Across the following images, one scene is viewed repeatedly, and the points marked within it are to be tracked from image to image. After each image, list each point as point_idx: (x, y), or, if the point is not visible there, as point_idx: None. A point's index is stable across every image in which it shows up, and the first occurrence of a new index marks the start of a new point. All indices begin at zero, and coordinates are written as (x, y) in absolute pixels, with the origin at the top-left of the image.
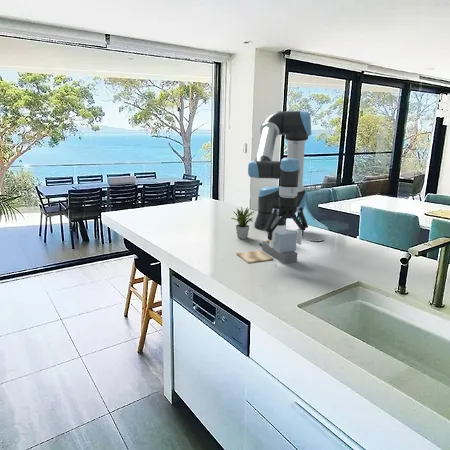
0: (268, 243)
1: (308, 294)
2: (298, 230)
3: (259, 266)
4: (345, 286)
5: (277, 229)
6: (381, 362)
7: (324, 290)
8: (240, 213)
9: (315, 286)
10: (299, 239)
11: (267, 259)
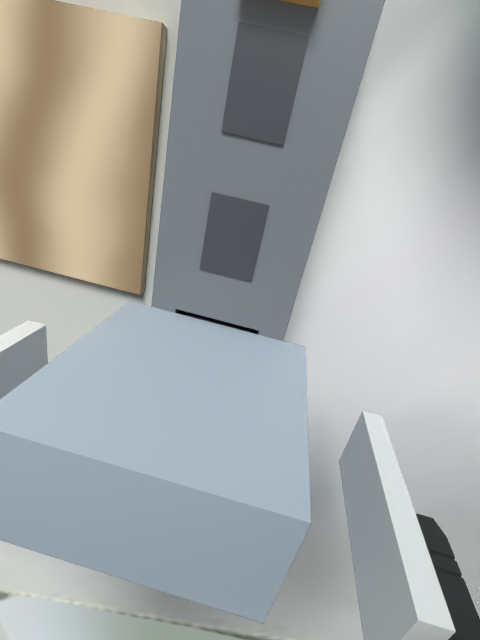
0: (213, 58)
1: (62, 587)
2: (392, 612)
3: (5, 327)
4: (217, 631)
5: None
6: None
7: (128, 604)
8: None
9: (122, 579)
10: (350, 501)
11: (93, 282)
